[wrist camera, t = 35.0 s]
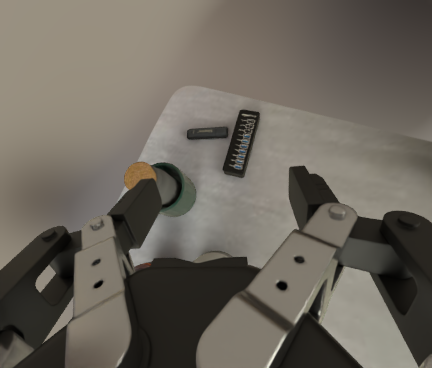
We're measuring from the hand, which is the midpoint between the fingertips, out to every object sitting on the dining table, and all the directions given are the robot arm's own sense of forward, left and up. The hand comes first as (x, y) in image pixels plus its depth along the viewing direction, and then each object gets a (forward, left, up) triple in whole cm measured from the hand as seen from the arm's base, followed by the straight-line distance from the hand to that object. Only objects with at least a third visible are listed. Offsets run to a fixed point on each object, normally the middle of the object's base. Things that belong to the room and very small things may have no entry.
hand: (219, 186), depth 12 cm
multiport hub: (-10, -13, -31) cm, 35 cm away
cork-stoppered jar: (+8, -14, -30) cm, 34 cm away
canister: (+8, -14, -31) cm, 35 cm away
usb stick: (-6, -21, -31) cm, 38 cm away
